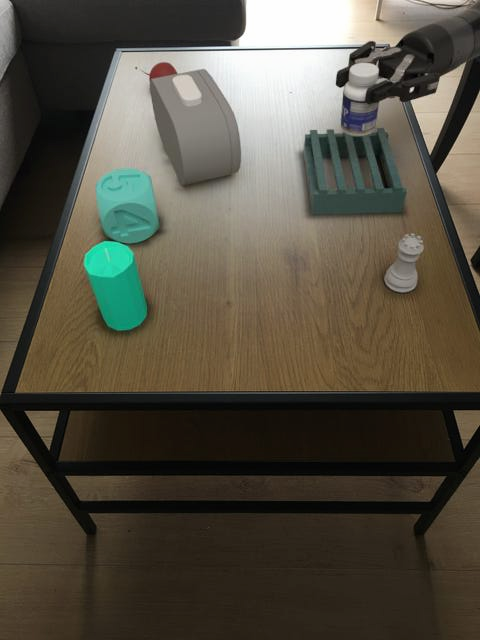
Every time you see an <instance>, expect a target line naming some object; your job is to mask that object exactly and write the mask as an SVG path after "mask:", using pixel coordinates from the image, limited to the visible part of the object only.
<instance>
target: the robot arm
mask: <svg viewBox="0 0 480 640" xmlns="http://www.w3.org/2000/svg"><path fill="white" fill-rule="evenodd" d="M376 44H377V43H376V41H374V40H369V41H367V42H366V43H364V44H363V45H361V46H359V47H358V48H357V49H355V50H354V51H352V52H351V53H349V54H348V55H349V56H348V65H347V66H345V67H343V68H342V69H338V70H337V72H336V77H335V86H336V87H337V88H339V89H341V88H344V86H345V84H346V83H347V82H348V81H349V71H350V68H351V67H352V66H353V65H355V64H359V63H370V64H374V65H376V66H377V67H378V69H379V75H378V80H381V79H385V80H382V81H380V82H378V84H376V85H374V86H371V87H369V88H368V89H367V91H366V96H365V103H367V104H368V105H371V104H373V103H378V102H379V103H380V102H382V101H384V100H386V99H395V98H399V99H398V100H399V102H401V103H407V102H410V101H413V100H417V99H420V98H423V97H427V96H430V95H434V94H436V93H437V91H438V87H439V83H440V79H441V77H443V76H445V75H446V74H448V73H451V72H453V71H454V70H456V69H458V68H459V67H460V66H462V65H464V64H465V63H468V62H469V61H471V60H473V59H476V58H478V57H480V0H476V1H474V3H473V4H471V5H470V6H469V7H467V8H466V9H465V10H463V11H461V12H459V13H456V14H454V15H451V16H450V17H445V18H442V19H441V18H440V19H438V20H435V21H434V22H431V23H429V24H427V25H424V26H421V27H419V28H417V29H415V30H412V31H411V32H408V33H406V34H405V35H403V37H402V38H400V40H399V41H398V42H397V44H395V46H391V47H385V48H383V49H380V48H377V47H376ZM412 88H413V89H412ZM411 89H412V91H411Z"/></svg>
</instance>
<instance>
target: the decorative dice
mask: <svg viewBox="0 0 480 640" xmlns="http://www.w3.org/2000/svg"><path fill="white" fill-rule="evenodd" d="M95 197H96V203H97V209H98V215H99V219H100V223H101V226H102V229H103V233H104V235H105V236H106V237H108V238H109V239H111V240H113V241H114V242H119V243H121V244H137V243H142V242H144V241H146V240H148V239H149V238H151V237H152V236H154V234H156V232H157V231H158V230H159V229H160V222H159V216H158V210H157V204H156V199H155V192H154V188H153V182H152V177H151V175H149V174H148V173H146V172H145V171H142V170H140V169H137V168H130V167H128V168H127V167H126V168H119V169H115V170H112V171H109V172H108V173H106V174H104V175H102V177H100V179H99V180H98V181H97V182H96V184H95Z"/></svg>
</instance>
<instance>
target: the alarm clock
mask: <svg viewBox="0 0 480 640" xmlns="http://www.w3.org/2000/svg"><path fill="white" fill-rule="evenodd" d="M149 91H150V99H151V104H152V110H153V115H154V120H155V124H156V128H157V131H158V135H159V138H160V141H161V143H162V146H163V148H164V151H165V152H166V155H167V157H168V159H169V161H170V164H171V165H172V168H173V170H174V172H175V174H176V177H177V178H178V180H179V182H180V184H181V185H182V186H187V185H192V184H195V183H196V184H197V183H200V182H204V181H208V180H212V179H216V178H222V177H225V176H229V175H233V174H237V173H238V172H239V171H240V168H241V165H242V146H241V137H240V130H239V126H238V122H237V119H236V116H235V112H234V110H233V109H232V107H231V105H230V103H229V102H228V99H227V98H226V97H225V95H224V94H223V92H222V90H221V89H220V87H219V86H218V84H217V83H216V81H215V79H214V78H213V76H212V75H211V74H210V73H209V72H208V70H206V69H205V68H201V69H195V70H190V71H183V72H181V73H178V74H174V75H169V76H164V77H159V78H154V79H151V80H150V81H149Z"/></svg>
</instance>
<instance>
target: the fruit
mask: <svg viewBox="0 0 480 640" xmlns="http://www.w3.org/2000/svg"><path fill="white" fill-rule="evenodd" d="M134 69H135V70H137V69H138V66H135V67H134ZM140 71H141V72H142V73H144V74H145V75H147V76H148V81H149V82H150V80H151V79H154V78H159V77H164V76H169V75H174V74H179V73H178V71H177V70H176V68H175V67H174V66H173V65H172V64H171V62H167V61H163V62H158V63H156V64H155V65H153V67H152V68H151V70H150V72H149V73H148V72H145V71H144V70H142V69H140Z"/></svg>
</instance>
